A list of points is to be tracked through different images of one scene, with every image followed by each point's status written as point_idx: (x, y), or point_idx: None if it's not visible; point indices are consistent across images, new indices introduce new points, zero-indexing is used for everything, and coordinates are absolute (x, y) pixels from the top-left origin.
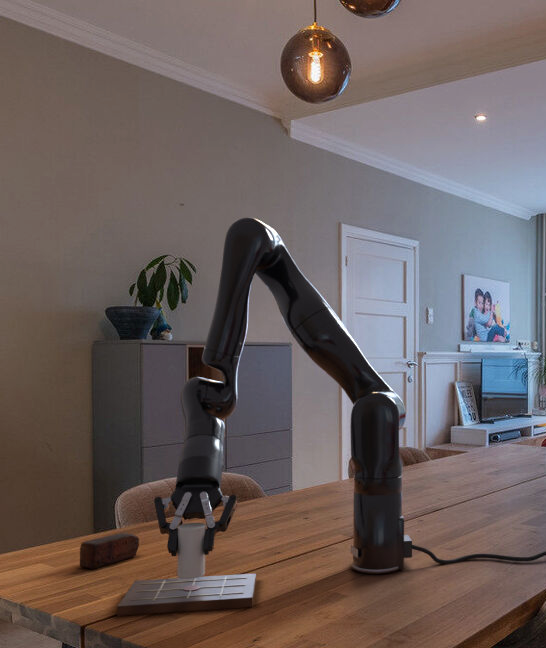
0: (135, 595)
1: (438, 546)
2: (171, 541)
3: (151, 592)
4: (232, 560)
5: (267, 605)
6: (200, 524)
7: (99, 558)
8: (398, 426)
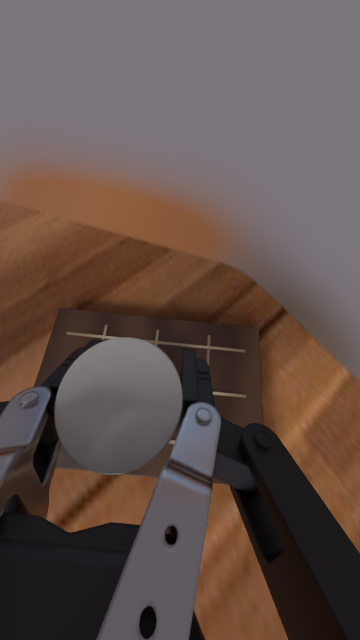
0: (243, 375)
1: None
2: (198, 374)
3: (218, 384)
4: None
5: (45, 314)
6: (78, 416)
7: None
8: None
